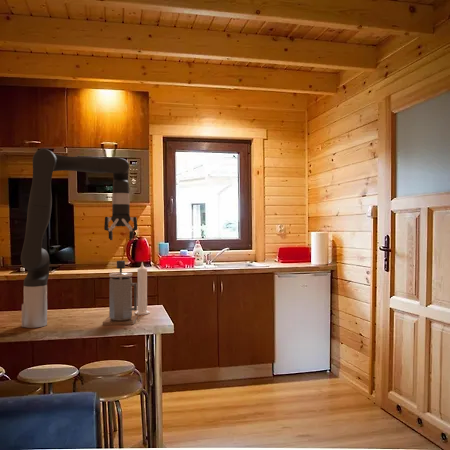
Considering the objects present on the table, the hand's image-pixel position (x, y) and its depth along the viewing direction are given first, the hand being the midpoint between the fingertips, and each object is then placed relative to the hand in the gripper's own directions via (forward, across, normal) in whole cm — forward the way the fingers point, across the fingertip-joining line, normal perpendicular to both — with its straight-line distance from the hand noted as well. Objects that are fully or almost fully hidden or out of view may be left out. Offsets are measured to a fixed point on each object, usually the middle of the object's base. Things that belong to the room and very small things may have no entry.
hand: (121, 240), depth 194 cm
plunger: (+33, 0, 0) cm, 33 cm away
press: (+36, 0, 0) cm, 36 cm away
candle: (+36, +7, +18) cm, 41 cm away
